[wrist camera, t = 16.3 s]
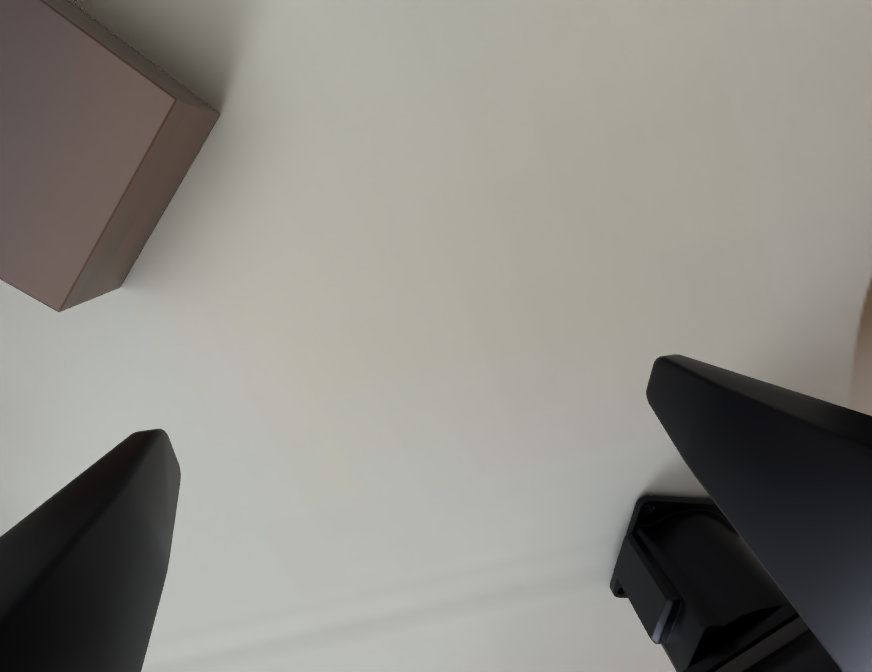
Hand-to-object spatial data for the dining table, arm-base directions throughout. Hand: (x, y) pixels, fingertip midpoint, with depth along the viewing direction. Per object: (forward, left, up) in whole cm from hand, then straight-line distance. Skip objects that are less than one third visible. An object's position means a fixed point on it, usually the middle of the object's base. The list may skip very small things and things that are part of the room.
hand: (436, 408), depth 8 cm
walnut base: (+13, -4, -11) cm, 18 cm away
